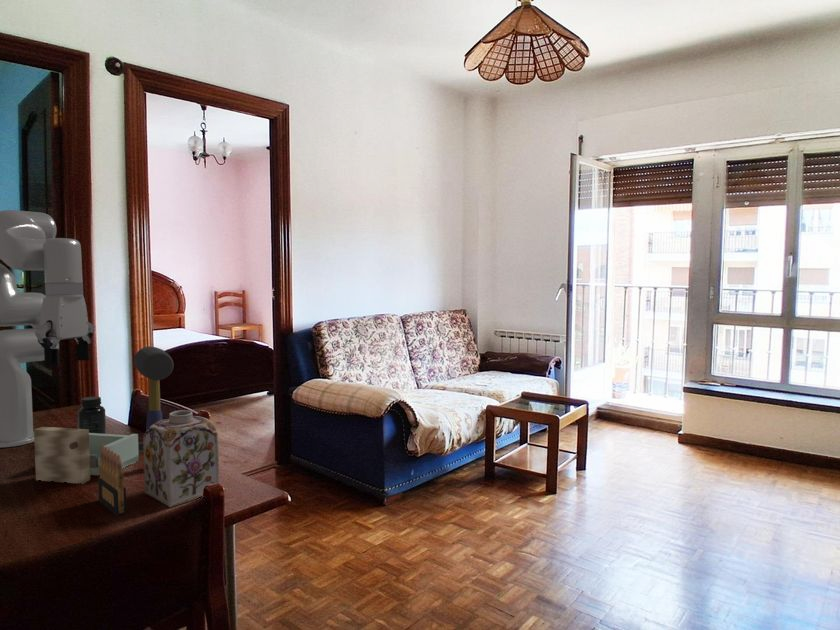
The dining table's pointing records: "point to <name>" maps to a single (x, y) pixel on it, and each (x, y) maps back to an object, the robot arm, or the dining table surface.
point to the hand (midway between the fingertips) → (68, 363)
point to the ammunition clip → (111, 482)
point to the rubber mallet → (153, 377)
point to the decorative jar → (180, 458)
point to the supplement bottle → (92, 415)
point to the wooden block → (62, 454)
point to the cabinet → (112, 449)
